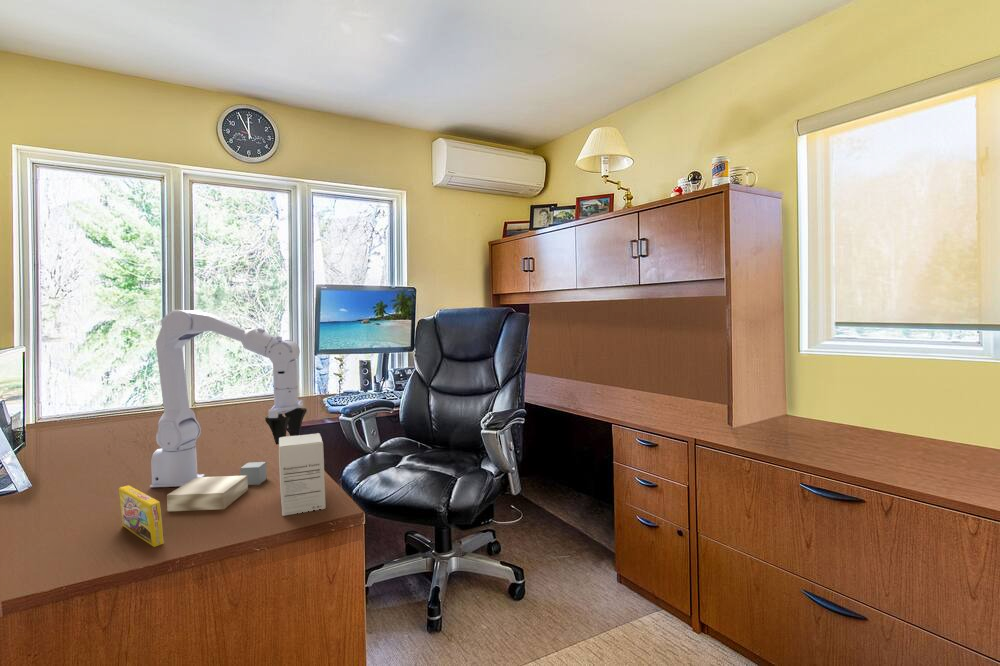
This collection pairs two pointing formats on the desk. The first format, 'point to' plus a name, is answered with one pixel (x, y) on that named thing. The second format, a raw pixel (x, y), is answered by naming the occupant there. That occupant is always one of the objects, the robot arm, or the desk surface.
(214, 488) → the birch block
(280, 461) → the supplement box
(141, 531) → the candy box
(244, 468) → the slate cube
